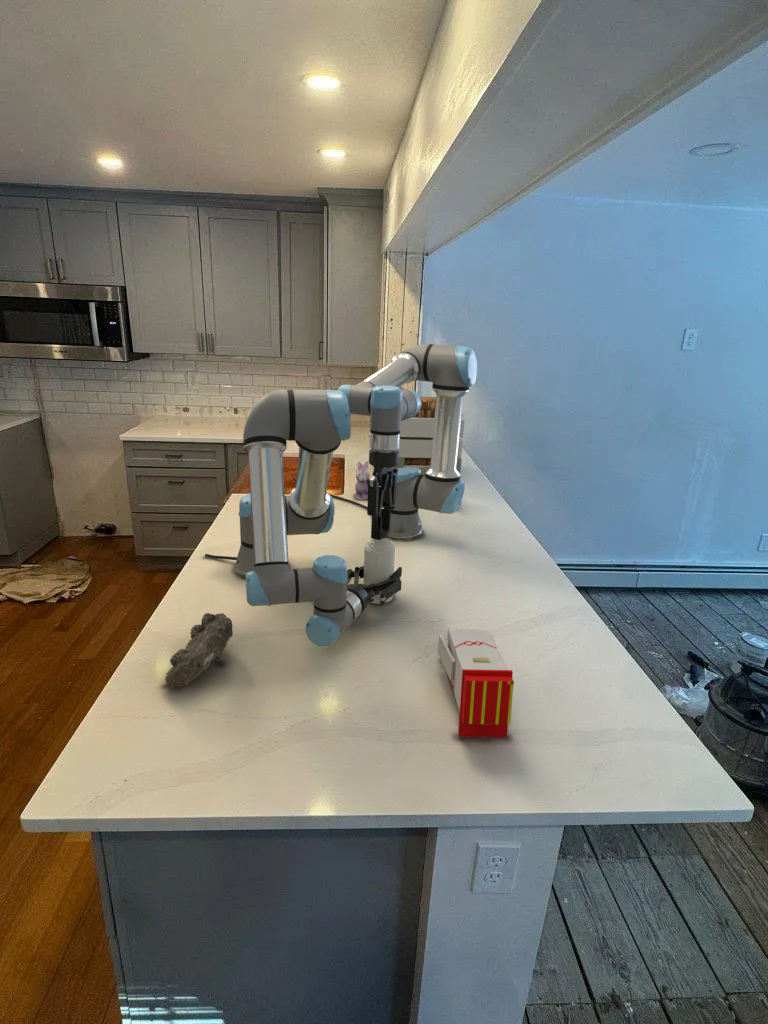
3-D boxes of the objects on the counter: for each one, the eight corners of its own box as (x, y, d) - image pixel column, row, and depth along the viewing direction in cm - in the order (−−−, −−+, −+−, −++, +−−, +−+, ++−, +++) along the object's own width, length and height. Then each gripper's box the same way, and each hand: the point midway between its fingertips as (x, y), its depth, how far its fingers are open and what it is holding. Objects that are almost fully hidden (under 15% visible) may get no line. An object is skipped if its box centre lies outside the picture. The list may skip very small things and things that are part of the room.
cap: (375, 531, 152) (375, 525, 152) (391, 534, 151) (391, 527, 150) (369, 536, 149) (369, 530, 148) (385, 539, 147) (385, 533, 147)
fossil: (188, 616, 134) (233, 586, 129) (216, 643, 137) (261, 615, 132) (144, 681, 114) (195, 649, 109) (178, 711, 117) (230, 682, 112)
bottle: (369, 587, 161) (371, 523, 154) (396, 593, 158) (400, 527, 152) (358, 600, 154) (360, 533, 147) (386, 606, 151) (390, 538, 144)
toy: (488, 613, 130) (523, 677, 101) (484, 667, 133) (517, 744, 104) (435, 612, 130) (455, 676, 101) (432, 666, 133) (451, 743, 103)
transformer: (382, 463, 289) (386, 382, 275) (445, 464, 293) (451, 384, 279) (390, 482, 257) (394, 392, 243) (460, 483, 261) (468, 394, 247)
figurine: (359, 501, 230) (360, 466, 225) (349, 494, 239) (349, 459, 234) (379, 499, 235) (381, 464, 230) (369, 491, 243) (370, 458, 238)
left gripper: (311, 607, 143) (351, 572, 163) (388, 627, 136) (420, 588, 155) (311, 580, 141) (351, 548, 160) (389, 600, 133) (422, 563, 153)
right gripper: (385, 441, 151) (382, 522, 159) (354, 454, 136) (352, 543, 144) (411, 444, 148) (406, 528, 156) (382, 458, 133) (378, 549, 141)
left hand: (385, 568), depth 158 cm, fingers closed on bottle, 8 cm apart
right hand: (380, 535), depth 150 cm, fingers closed on cap, 4 cm apart
